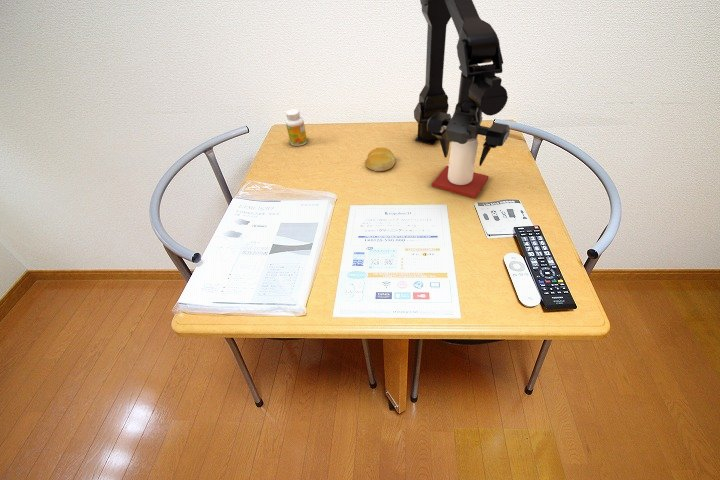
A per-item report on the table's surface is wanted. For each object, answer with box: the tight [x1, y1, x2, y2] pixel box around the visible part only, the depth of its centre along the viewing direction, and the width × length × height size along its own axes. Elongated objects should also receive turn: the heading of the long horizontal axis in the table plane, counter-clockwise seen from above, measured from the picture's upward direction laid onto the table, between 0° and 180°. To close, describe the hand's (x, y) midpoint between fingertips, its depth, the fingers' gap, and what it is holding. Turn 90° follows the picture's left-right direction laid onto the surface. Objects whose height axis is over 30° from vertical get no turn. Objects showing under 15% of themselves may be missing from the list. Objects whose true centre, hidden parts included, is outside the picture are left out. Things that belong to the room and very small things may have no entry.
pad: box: [431, 165, 489, 199], centre depth 96 cm, size 12×10×1 cm
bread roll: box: [364, 146, 396, 172], centre depth 103 cm, size 8×9×4 cm
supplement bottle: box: [285, 108, 308, 147], centre depth 112 cm, size 5×5×10 cm
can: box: [448, 137, 479, 185], centre depth 91 cm, size 6×6×12 cm
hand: (463, 160), depth 92 cm, fingers open, 9 cm apart
